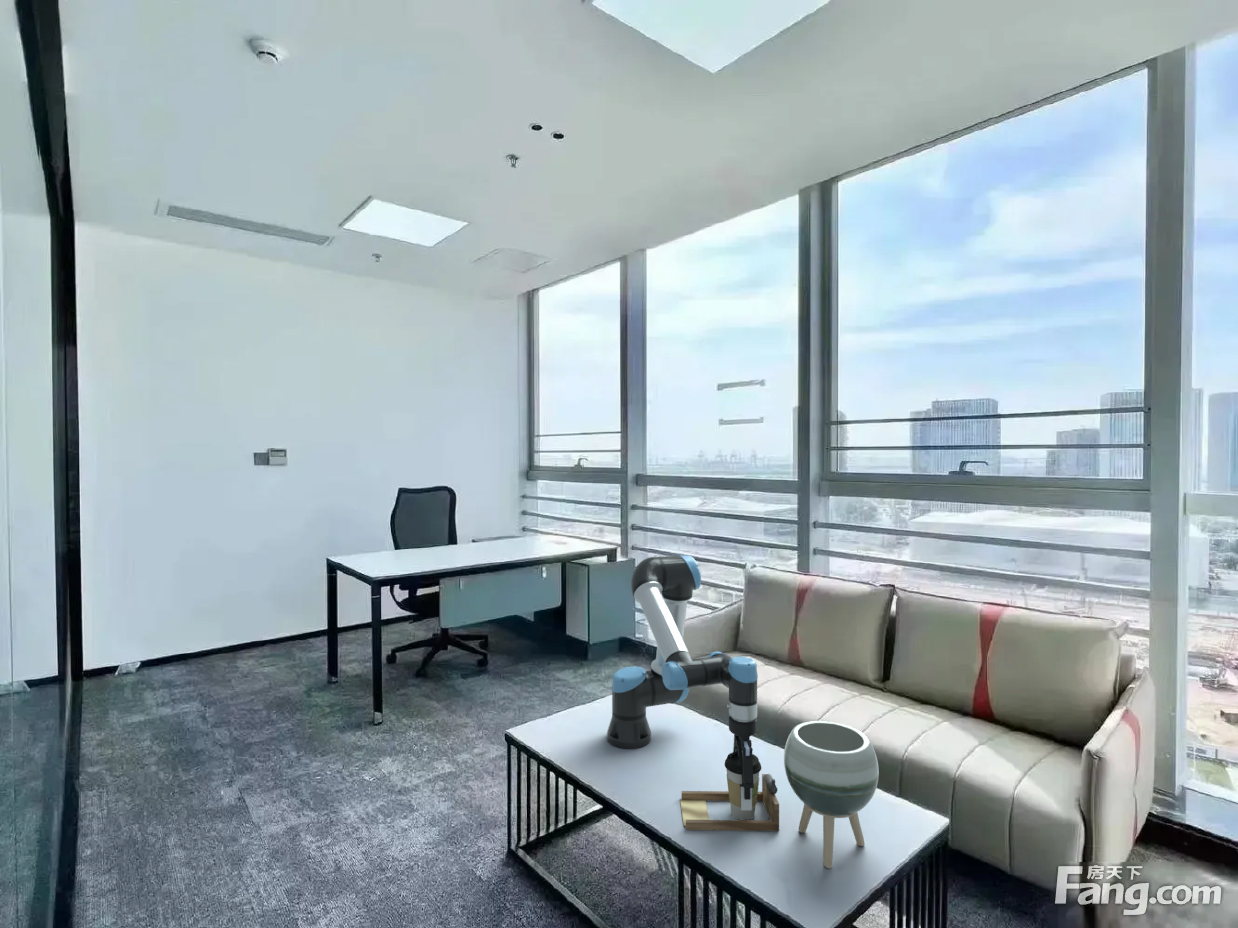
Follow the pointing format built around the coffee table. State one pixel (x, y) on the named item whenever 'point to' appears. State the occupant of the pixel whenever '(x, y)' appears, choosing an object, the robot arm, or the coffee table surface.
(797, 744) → the planter
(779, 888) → the coffee table surface
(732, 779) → the coffee cup
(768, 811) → the bay
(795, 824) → the coffee table surface
